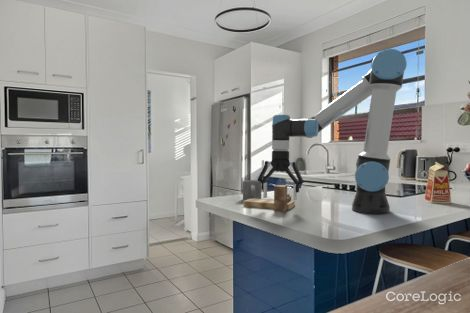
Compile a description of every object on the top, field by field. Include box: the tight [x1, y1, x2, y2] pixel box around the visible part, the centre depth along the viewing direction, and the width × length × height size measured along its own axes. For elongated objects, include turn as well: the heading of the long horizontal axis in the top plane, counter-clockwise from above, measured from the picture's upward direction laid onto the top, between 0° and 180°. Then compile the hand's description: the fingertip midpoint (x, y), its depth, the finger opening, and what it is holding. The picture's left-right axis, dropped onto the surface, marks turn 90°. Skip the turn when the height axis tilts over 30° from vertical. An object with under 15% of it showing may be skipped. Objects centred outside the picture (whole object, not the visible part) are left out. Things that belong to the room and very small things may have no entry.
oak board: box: [242, 198, 296, 211], centre depth 152 cm, size 22×10×3 cm, turn 66°
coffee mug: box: [242, 179, 262, 201], centre depth 170 cm, size 13×10×10 cm
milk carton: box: [423, 161, 452, 205], centre depth 161 cm, size 9×9×20 cm
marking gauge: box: [273, 184, 292, 213], centre depth 147 cm, size 4×16×11 cm, turn 156°
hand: (279, 198), depth 142 cm, fingers open, 13 cm apart
